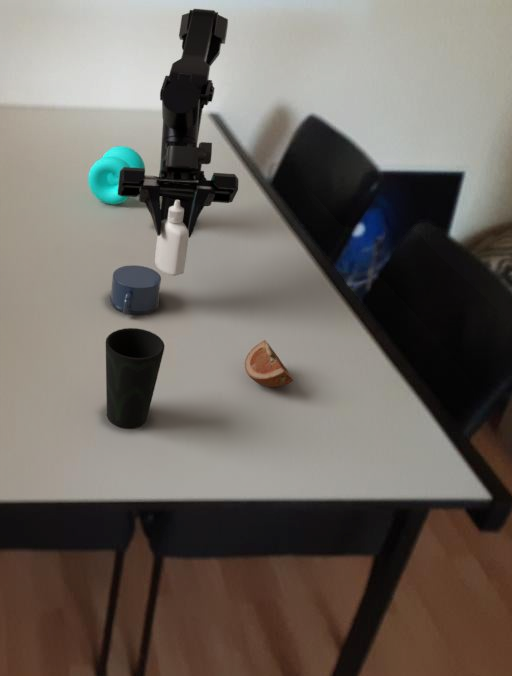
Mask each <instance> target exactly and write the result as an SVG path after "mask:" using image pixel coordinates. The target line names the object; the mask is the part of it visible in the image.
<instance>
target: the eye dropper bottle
mask: <svg viewBox="0 0 512 676" xmlns="http://www.w3.org/2000/svg"><path fill="white" fill-rule="evenodd" d="M183 215H184V208H183V207H181V206H180V200H175V203H174V205H173V206H171V207H169V211H168V219H165V220H162V221H161V234H160V236H158V235H157V238H156V244H155V245H156V247H155V254H154V264H155V266H156V268H157V269H158V270H159V271H161V272H163V273H165V274H167V275H169V276H173V277H174V276H179V275H183V274H184V272H185V267H186V262H187V261H186V260H187V253H188V245H189V239H190V238H189V231H188V229H187V227H186V226H185V224H184V223H183V222H182V221H183Z"/></svg>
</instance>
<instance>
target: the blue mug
mask: <svg viewBox="0 0 512 676" xmlns="http://www.w3.org/2000/svg"><path fill="white" fill-rule="evenodd" d="M161 283H162V276H161V274H160V273H159V272H158V271H156V270H154V269H152V268H151V267H147V266H143V265H137V264H136V265H135V264H134V265H124V266H120V267H118V268H116V269H115V270H114V271H113V273H112V280H111V290H110V291H111V292H110V296H109V304H110V306H111V307H112V308H113V309H115V310H116V311H118V312H120V313H123V315H132V316H142V315H143V316H144V315H148V314H151V313H153V312H155V311H156V310H157V309H158V308H159V304H160V301H159V300H160V299H159V298H160V291H161V290H160V289H161Z"/></svg>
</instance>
